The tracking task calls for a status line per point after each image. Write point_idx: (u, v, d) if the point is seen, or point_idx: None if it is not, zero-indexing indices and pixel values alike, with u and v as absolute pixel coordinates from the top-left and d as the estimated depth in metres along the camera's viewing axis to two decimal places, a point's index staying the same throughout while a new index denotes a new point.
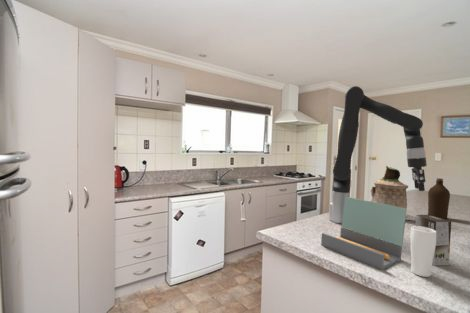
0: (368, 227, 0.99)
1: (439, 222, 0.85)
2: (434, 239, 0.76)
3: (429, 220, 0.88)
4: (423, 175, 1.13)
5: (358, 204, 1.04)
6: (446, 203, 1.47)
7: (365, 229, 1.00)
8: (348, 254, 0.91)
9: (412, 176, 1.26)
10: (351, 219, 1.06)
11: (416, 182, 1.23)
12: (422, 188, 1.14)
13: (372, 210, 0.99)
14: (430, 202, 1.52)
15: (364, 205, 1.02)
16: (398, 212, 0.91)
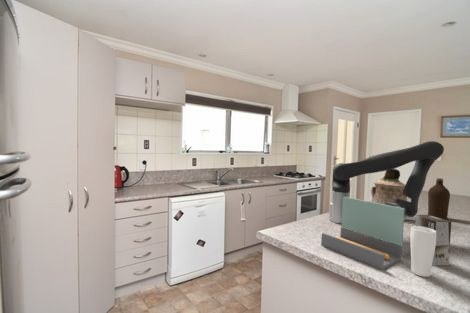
0: (367, 227, 0.99)
1: (439, 222, 0.85)
2: (434, 239, 0.76)
3: (429, 220, 0.88)
4: None
5: (356, 204, 1.03)
6: (446, 203, 1.47)
7: (365, 229, 1.00)
8: (348, 254, 0.91)
9: None
10: (350, 219, 1.05)
11: None
12: None
13: (370, 210, 0.98)
14: (430, 202, 1.52)
15: (362, 205, 1.01)
16: (396, 212, 0.90)
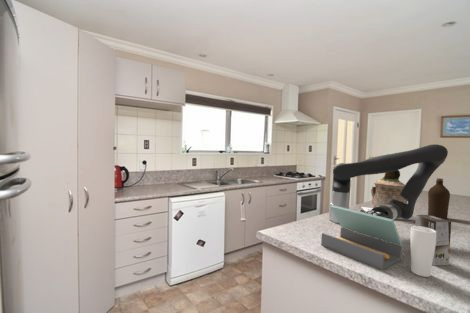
0: (365, 230, 0.98)
1: (439, 222, 0.85)
2: (434, 239, 0.76)
3: (429, 220, 0.88)
4: None
5: (346, 213, 0.99)
6: (446, 203, 1.47)
7: (363, 231, 0.99)
8: (348, 254, 0.91)
9: None
10: (346, 223, 1.04)
11: None
12: None
13: (361, 219, 0.94)
14: (430, 202, 1.52)
15: (351, 214, 0.97)
16: (386, 223, 0.86)
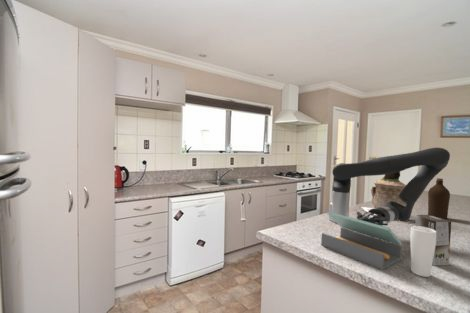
0: (364, 232, 0.98)
1: (439, 222, 0.85)
2: (434, 239, 0.76)
3: (429, 220, 0.88)
4: (381, 224, 0.94)
5: (343, 219, 0.98)
6: (446, 203, 1.47)
7: (362, 232, 0.99)
8: (348, 254, 0.91)
9: (358, 214, 1.00)
10: (345, 225, 1.03)
11: None
12: None
13: (358, 225, 0.93)
14: (430, 202, 1.52)
15: (348, 221, 0.96)
16: (383, 230, 0.85)
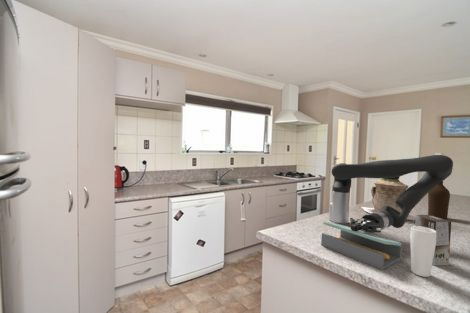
0: None
1: (439, 222, 0.85)
2: (434, 239, 0.76)
3: (429, 220, 0.88)
4: (374, 231, 0.91)
5: None
6: (446, 203, 1.47)
7: None
8: (348, 254, 0.91)
9: (351, 220, 0.97)
10: None
11: None
12: (358, 229, 0.91)
13: None
14: (430, 202, 1.52)
15: None
16: None
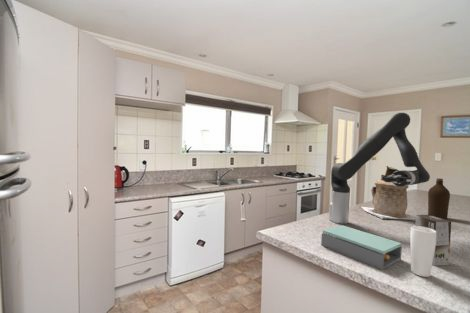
0: None
1: (439, 222, 0.85)
2: (434, 239, 0.76)
3: (429, 220, 0.88)
4: (404, 182, 1.06)
5: None
6: (446, 203, 1.47)
7: None
8: (348, 254, 0.91)
9: (383, 175, 1.12)
10: None
11: None
12: (391, 180, 1.05)
13: None
14: (430, 202, 1.52)
15: None
16: None
